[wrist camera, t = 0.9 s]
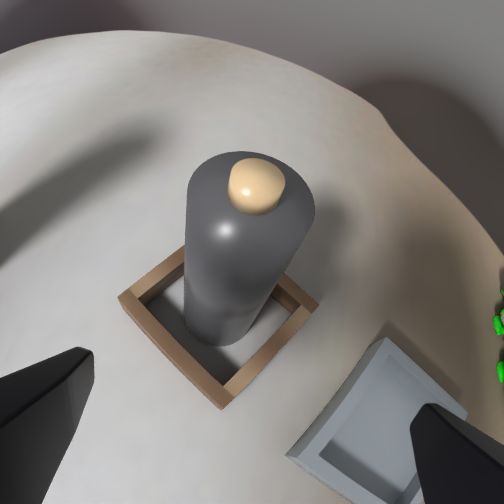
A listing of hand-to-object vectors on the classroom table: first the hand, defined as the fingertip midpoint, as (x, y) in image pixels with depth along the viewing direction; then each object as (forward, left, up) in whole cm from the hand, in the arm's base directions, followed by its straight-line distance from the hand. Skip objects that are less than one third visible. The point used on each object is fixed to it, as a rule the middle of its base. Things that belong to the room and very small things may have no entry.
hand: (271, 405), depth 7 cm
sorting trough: (+7, -11, -14) cm, 19 cm away
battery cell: (+6, +5, -14) cm, 16 cm away
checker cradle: (+6, +5, -14) cm, 16 cm away
